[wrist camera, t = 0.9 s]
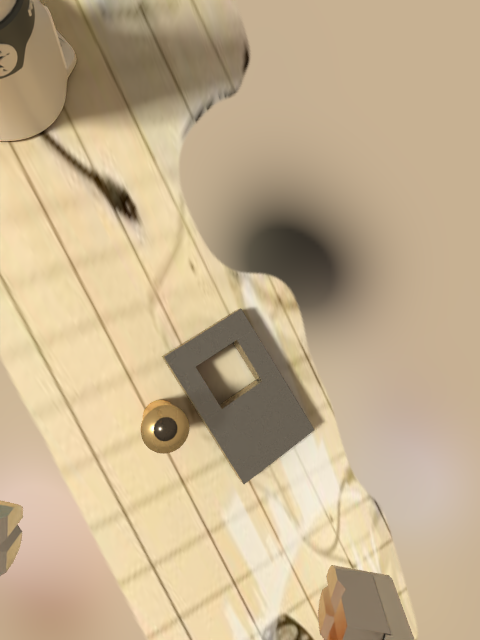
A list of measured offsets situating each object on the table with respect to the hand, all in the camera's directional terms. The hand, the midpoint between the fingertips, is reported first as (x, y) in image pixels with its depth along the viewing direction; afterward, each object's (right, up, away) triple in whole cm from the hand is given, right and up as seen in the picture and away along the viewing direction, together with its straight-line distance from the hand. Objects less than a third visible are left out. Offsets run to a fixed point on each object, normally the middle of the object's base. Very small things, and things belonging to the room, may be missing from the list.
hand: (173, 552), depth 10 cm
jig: (+1, -3, +40) cm, 40 cm away
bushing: (-8, -6, +37) cm, 39 cm away
